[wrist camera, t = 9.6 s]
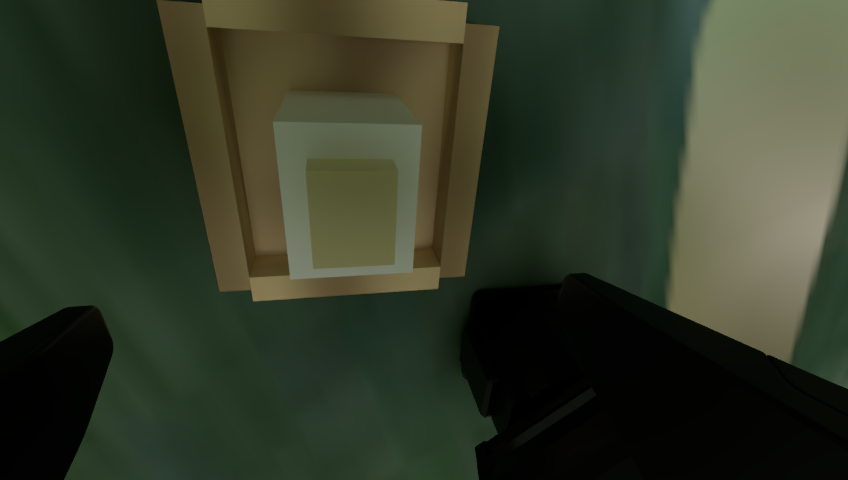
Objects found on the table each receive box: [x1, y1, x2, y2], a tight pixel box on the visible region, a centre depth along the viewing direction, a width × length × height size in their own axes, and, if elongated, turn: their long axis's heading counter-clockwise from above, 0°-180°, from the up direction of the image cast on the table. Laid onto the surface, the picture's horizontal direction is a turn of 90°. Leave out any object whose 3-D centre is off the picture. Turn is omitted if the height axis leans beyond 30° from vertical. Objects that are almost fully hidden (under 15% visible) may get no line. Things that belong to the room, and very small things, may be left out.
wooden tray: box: [156, 0, 499, 301], centre depth 16 cm, size 10×11×2 cm
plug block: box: [273, 90, 422, 280], centre depth 14 cm, size 4×5×6 cm
